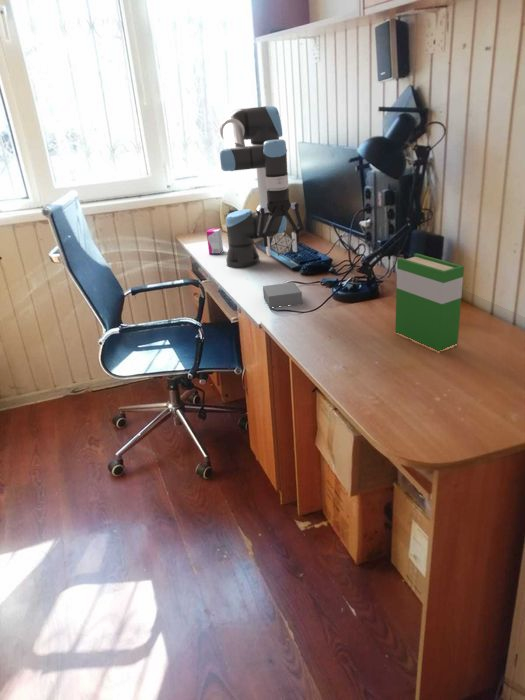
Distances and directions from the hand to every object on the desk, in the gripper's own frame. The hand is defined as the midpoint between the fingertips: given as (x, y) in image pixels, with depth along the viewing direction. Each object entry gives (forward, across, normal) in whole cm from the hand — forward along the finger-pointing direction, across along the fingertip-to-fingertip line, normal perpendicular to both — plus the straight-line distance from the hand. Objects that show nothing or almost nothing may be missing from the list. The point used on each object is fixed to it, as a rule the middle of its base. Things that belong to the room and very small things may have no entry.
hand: (281, 253), depth 194 cm
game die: (+1, 0, 0) cm, 1 cm away
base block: (+18, -1, 0) cm, 18 cm away
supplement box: (+18, -10, +79) cm, 81 cm away
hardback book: (+18, +27, -52) cm, 61 cm away
